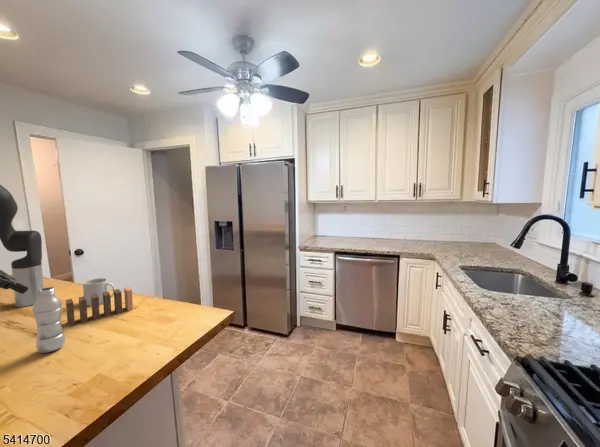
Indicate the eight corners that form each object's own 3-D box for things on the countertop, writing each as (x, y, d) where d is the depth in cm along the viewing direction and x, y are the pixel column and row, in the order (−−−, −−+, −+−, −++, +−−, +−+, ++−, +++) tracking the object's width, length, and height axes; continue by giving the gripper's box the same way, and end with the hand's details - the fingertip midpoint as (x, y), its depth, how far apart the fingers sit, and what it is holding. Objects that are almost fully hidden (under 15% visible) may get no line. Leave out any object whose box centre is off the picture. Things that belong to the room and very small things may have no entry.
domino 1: (68, 326, 95) (66, 303, 95) (67, 322, 99) (65, 300, 98) (74, 325, 97) (73, 302, 96) (73, 320, 100) (71, 298, 99)
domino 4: (106, 316, 104) (104, 295, 103) (103, 313, 107) (102, 292, 106) (111, 315, 105) (110, 294, 104) (109, 311, 108) (107, 291, 108)
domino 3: (94, 320, 101) (92, 298, 100) (92, 315, 104) (90, 294, 103) (100, 318, 102) (98, 297, 101) (97, 314, 106) (96, 293, 105)
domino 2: (81, 323, 98) (80, 300, 97) (80, 319, 102) (78, 297, 101) (87, 321, 99) (86, 299, 99) (86, 317, 103) (84, 296, 102)
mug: (79, 303, 116) (78, 282, 115) (102, 296, 125) (101, 276, 124) (94, 308, 112) (93, 286, 111) (117, 300, 120) (115, 279, 119)
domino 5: (117, 313, 106) (116, 293, 106) (114, 310, 110) (113, 290, 109) (122, 312, 108) (121, 292, 107) (119, 308, 111) (118, 289, 110)
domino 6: (128, 311, 109) (127, 290, 108) (125, 307, 113) (124, 287, 112) (132, 309, 110) (131, 289, 110) (129, 306, 114) (128, 287, 113)
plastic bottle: (70, 346, 83) (65, 286, 81) (44, 358, 77) (38, 294, 75) (58, 342, 85) (53, 284, 83) (31, 353, 79) (25, 291, 77)
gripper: (-27, 256, 76) (36, 286, 86) (-20, 249, 85) (36, 277, 95) (-55, 277, 72) (14, 306, 82) (-45, 268, 81) (16, 295, 91)
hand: (25, 290), depth 88 cm, fingers closed
